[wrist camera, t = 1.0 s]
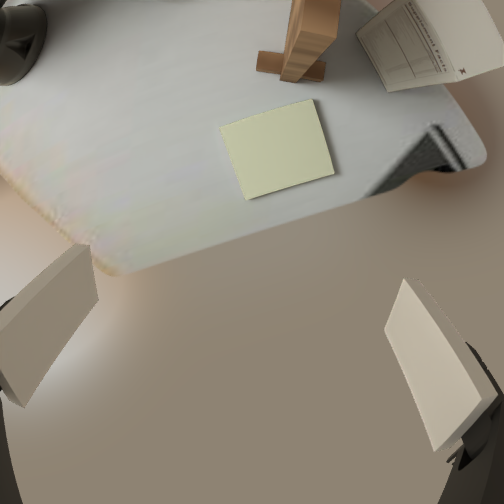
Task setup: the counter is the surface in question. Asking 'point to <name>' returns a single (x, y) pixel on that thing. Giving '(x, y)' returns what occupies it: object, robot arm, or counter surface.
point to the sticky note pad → (277, 149)
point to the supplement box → (431, 42)
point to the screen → (304, 41)
